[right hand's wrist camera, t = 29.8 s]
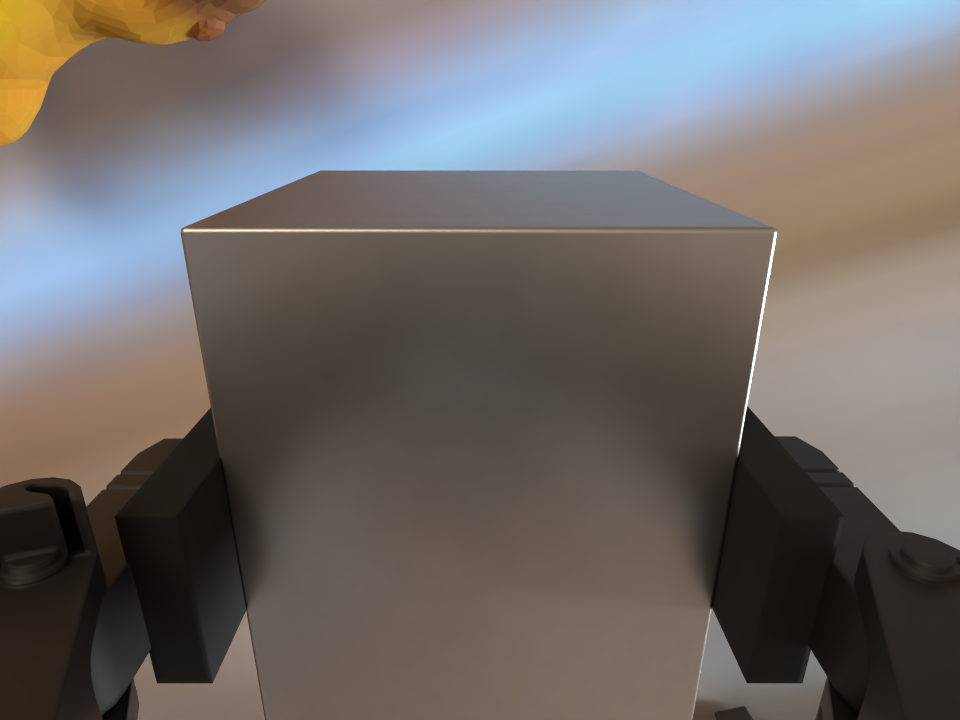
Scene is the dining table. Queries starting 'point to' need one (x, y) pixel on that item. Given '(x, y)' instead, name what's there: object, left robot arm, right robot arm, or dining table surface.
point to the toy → (88, 40)
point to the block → (478, 436)
